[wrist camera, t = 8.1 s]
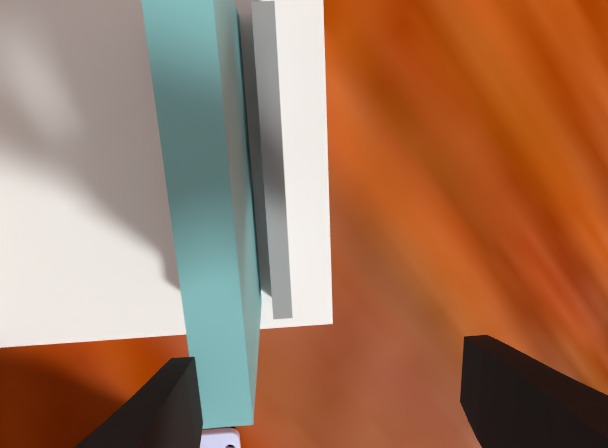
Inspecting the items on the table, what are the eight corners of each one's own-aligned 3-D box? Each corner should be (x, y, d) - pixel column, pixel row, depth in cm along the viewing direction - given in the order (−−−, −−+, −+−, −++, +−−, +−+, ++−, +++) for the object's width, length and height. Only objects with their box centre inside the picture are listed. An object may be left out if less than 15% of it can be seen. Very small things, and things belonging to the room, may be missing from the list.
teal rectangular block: (261, 300, 20) (253, 424, 12) (229, 302, 20) (199, 429, 12) (239, 15, 17) (206, -63, 9) (199, 17, 16) (133, -61, 9)
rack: (330, 313, 21) (342, 360, 17) (-180, 350, 20) (-288, 408, 16) (319, -25, 17) (332, -62, 13) (-320, -5, 16) (-507, -40, 12)
